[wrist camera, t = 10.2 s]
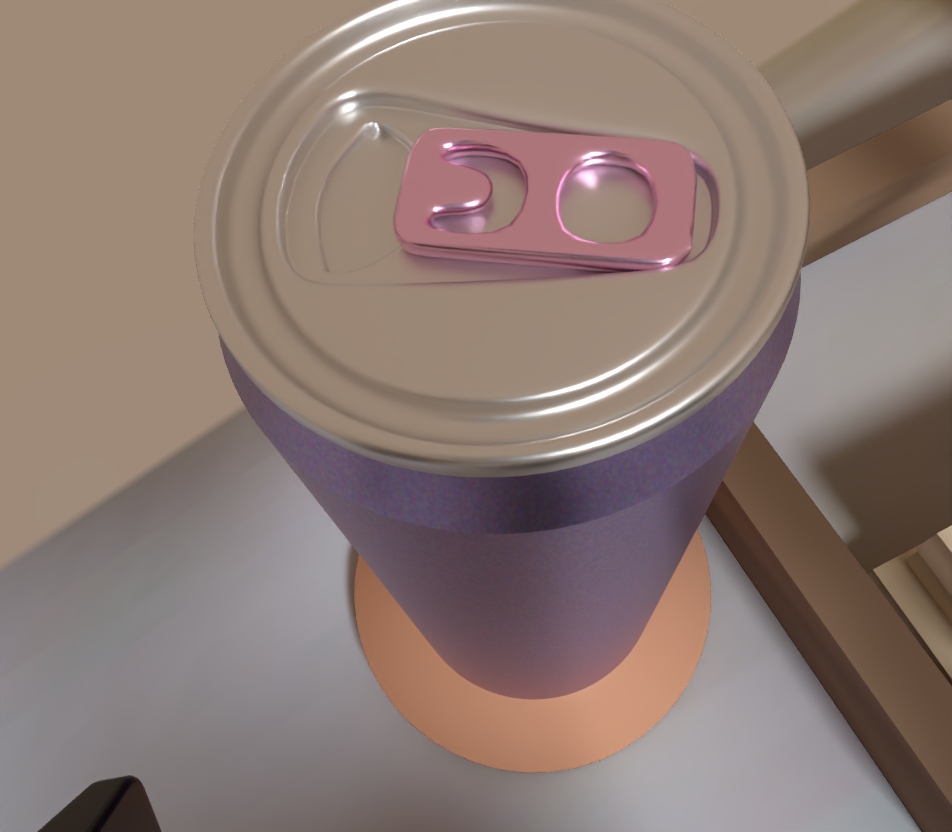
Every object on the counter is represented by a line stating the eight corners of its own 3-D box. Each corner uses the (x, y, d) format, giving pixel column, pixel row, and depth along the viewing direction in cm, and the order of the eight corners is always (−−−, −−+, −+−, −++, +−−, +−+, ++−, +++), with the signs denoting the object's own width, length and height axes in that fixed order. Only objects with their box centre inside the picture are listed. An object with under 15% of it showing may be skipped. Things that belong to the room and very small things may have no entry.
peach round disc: (453, 846, 19) (450, 848, 19) (307, 519, 23) (302, 512, 22) (780, 658, 20) (786, 654, 20) (591, 375, 24) (592, 365, 24)
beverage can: (642, 721, 19) (843, 537, 6) (394, 682, 20) (75, 441, 7) (659, 483, 22) (831, -37, 8) (437, 457, 23) (265, -54, 9)
